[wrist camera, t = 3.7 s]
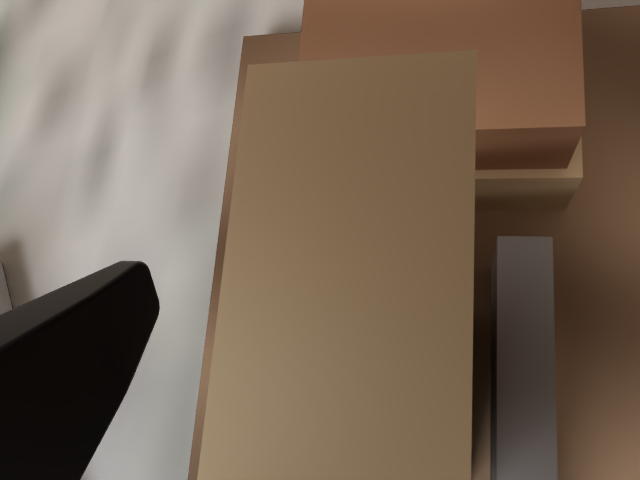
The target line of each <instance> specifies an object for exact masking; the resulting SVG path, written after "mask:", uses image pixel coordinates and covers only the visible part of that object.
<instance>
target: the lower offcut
mask: <svg viewBox="0 0 640 480" xmlns="http://www.w3.org/2000/svg"><path fill="white" fill-rule="evenodd" d="M582 178H583V165H582V137H581V138H580V140H579V142H578V145H577V147H576V149H575V151H574V154H573V156H572V158H571V161H570V163H569V165H568V167H567V169H511V170H475V210H566V209H567V207H568V205H569V203H570V201H571V199H572V197H573V195H574V194H575V192H576V190H577V188H578V186H579V184H580V182H581V180H582Z"/></svg>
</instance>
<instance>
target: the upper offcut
mask: <svg viewBox="0 0 640 480" xmlns="http://www.w3.org/2000/svg"><path fill="white" fill-rule="evenodd" d="M466 50H477V73H476V148H475V170H511V169H567V167H568V165H569V163H570V161H571V158H572V156H573V154H574V151H575V149H576V147H577V145H578V142H579V140H580V138H581V136H582V133H583V131H584V129H585V126H586V123H585V96H584V70H583V43H582V16H581V0H304V8H303V18H302V28H301V38H300V48H299V59H298V61H313V60H328V59H343V58H359V57H374V56H389V55H404V54H420V53H435V52H450V51H466Z"/></svg>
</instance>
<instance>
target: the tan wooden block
mask: <svg viewBox="0 0 640 480" xmlns="http://www.w3.org/2000/svg"><path fill="white" fill-rule="evenodd" d="M476 73H477V50H466V51H450V52H435V53H420V54H404V55H389V56H374V57H359V58H343V59H328V60H313V61H297V62H282V63H267V64H251V65H248V68H247V76H246V84H245V92H244V100H243V108H242V117H241V125H240V133H239V141H238V149H237V158H236V166H235V174H234V182H233V190H232V198H231V207H230V215H229V223H228V231H227V239H226V247H225V256H224V264H223V272H222V280H221V288H220V296H219V305H218V313H217V321H216V329H215V337H214V346H213V354H212V362H211V370H210V378H209V386H208V395H207V403H206V411H205V419H204V427H203V435H202V444H201V452H200V460H199V468H198V476H197V480H471V448H472V373H473V298H474V223H475V148H476Z"/></svg>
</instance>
